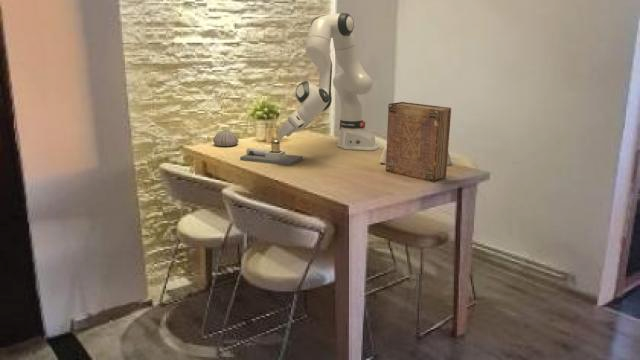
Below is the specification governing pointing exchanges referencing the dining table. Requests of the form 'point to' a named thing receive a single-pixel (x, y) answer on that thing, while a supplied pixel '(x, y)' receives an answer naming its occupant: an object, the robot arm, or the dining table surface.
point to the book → (418, 140)
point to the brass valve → (275, 146)
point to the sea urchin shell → (225, 138)
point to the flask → (449, 160)
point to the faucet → (383, 155)
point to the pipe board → (270, 157)
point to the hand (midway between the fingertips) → (282, 137)
